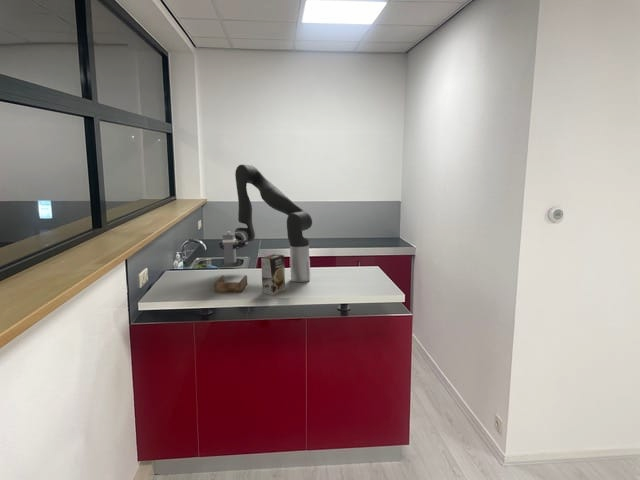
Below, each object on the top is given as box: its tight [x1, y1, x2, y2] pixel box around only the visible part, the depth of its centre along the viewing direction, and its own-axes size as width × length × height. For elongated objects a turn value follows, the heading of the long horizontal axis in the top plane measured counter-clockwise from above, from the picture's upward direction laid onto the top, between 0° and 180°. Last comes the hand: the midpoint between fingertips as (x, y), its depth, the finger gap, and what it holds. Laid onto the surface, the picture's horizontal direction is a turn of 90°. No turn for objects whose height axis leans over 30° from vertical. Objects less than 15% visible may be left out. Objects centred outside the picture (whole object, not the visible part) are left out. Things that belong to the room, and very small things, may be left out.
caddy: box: [213, 275, 248, 294], centre depth 205 cm, size 12×13×4 cm
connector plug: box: [222, 230, 237, 264], centre depth 203 cm, size 5×5×14 cm
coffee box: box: [260, 253, 286, 296], centre depth 198 cm, size 9×6×16 cm
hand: (228, 247), depth 200 cm, fingers closed on connector plug, 4 cm apart
